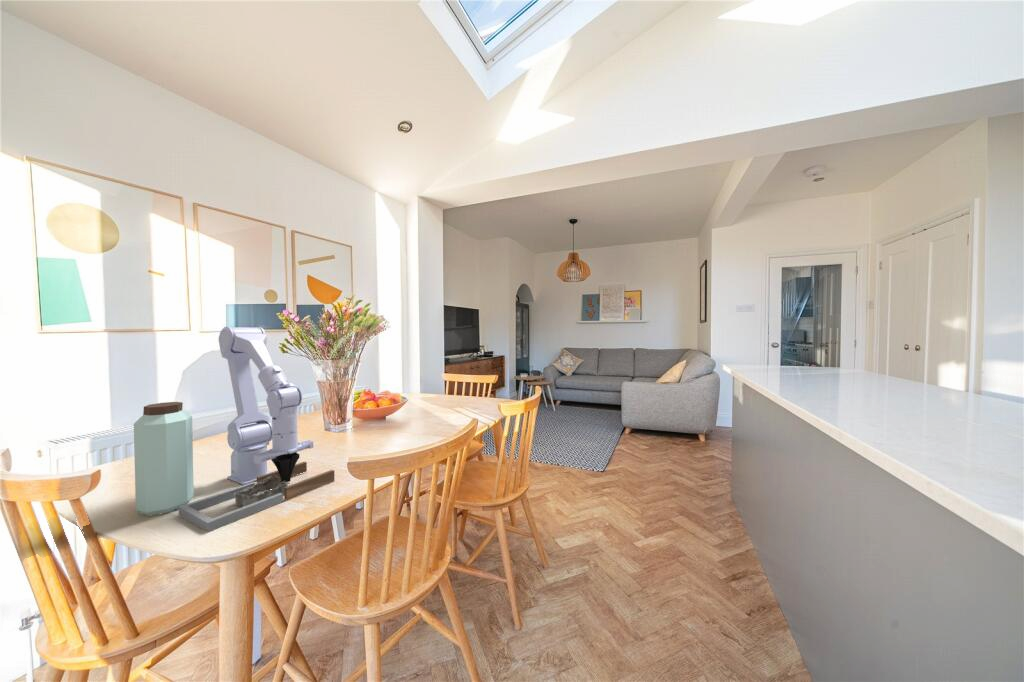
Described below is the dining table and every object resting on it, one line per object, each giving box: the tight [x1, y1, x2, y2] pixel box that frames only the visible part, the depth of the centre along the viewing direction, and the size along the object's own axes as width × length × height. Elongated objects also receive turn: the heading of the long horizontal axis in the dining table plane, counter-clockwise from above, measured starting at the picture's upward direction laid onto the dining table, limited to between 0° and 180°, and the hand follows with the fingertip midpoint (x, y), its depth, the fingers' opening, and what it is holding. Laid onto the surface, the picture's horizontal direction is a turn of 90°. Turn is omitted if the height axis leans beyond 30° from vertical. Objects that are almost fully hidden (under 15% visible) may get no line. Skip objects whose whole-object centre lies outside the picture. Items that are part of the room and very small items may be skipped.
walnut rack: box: [256, 461, 335, 501], centre depth 98 cm, size 14×13×3 cm
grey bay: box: [178, 481, 284, 533], centre depth 84 cm, size 14×15×2 cm
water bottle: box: [133, 401, 195, 517], centre depth 85 cm, size 10×10×25 cm
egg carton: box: [233, 474, 291, 507], centre depth 90 cm, size 11×8×4 cm
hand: (285, 481), depth 95 cm, fingers closed
